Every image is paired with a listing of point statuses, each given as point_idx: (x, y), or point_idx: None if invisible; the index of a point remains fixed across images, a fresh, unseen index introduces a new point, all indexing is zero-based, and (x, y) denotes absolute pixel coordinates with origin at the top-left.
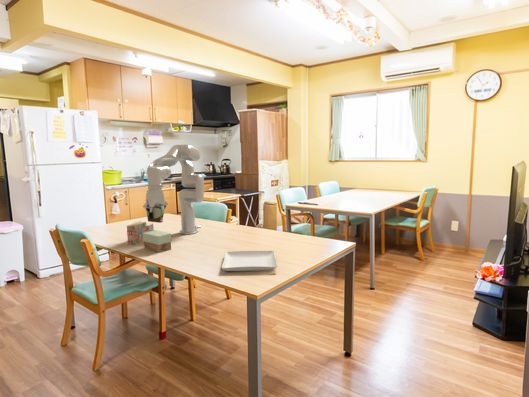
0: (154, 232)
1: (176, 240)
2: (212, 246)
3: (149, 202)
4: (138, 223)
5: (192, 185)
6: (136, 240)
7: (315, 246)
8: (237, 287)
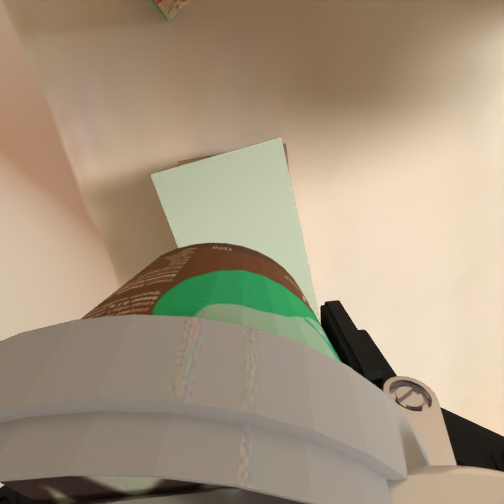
0: (240, 223)
1: (424, 117)
2: (457, 353)
3: None
4: None
5: None
6: (161, 6)
7: None
8: None
